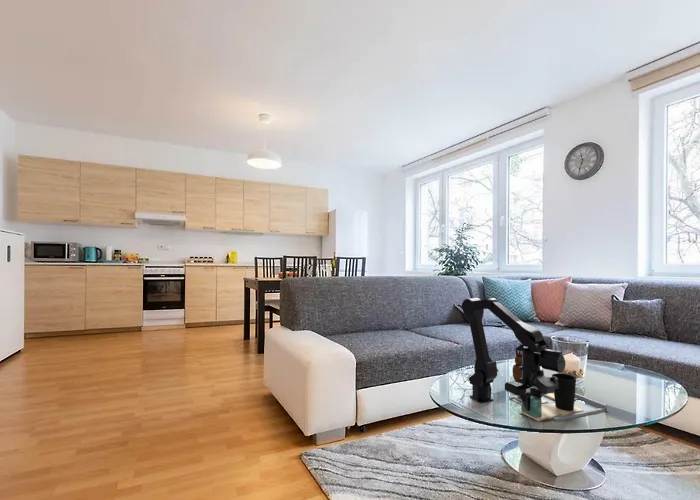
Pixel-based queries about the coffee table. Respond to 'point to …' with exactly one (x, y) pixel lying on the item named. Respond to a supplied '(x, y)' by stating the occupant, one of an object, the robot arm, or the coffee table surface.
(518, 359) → the wooden figurine
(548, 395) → the broken strip
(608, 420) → the coffee table surface
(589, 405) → the lane board
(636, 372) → the coffee table surface
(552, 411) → the teal block on board
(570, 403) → the cup
